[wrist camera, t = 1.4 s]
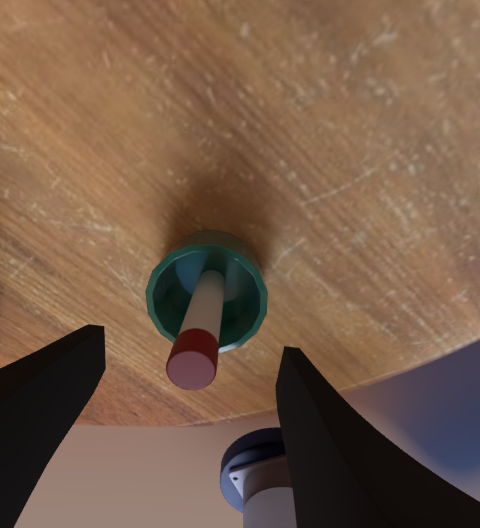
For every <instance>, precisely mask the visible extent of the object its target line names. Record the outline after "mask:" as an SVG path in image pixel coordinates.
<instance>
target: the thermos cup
mask: <svg viewBox="0 0 480 528" xmlns="http://www.w3.org/2000/svg"><path fill="white" fill-rule="evenodd" d="M208 270H215V271H218V272H219V273H221V274H222V275H223V277H224V279H225V291H224V299H223V308H222V316H221V325H220V334H219V342H218V345H219V352H218V353H223V352H225V351H228V350H231V349H234V348H237V347H240V346H242V345H243V344H244V343H245V342H246V341H247V340H249V339H250V338H251V337H252V336H253V335H255V334H256V333H257V332H258V330H259V328H260V326H261V324H262V322H263V320H264V318H265V316H266V313H267V295H268V292H267V288H266V283H265V279H264V275H263V271H262V269H261V266H260V263H259V261H258V258H257V256H256V255H255V253H254V252H253V250H252V249H251V248H250V247H249V246H248V245H247V244H246V243H245V242H243V241H242V240H240V239H239V238H237V237H235V236H233V235H231V234H228V233H225V232H220V231H201V232H197V233H194V234H191V235H189V236H187V237H185V238H183V239H182V240H180V241H179V242H178V243H177V244H176V245H174V247H173V248H172V249H171V250H170V251H169V252H168V253H167V254H166V255H165V256H164V258H163V259H162V260H161V261H160V262H159V264H158V265H157V266H156V267H155V268H154V270H153V271H152V273H151V276H150V279H149V282H148V285H147V288H146V301H147V309H148V314H149V316H150V318H151V319H152V321H153V323H154V325H155V326H156V328H157V330H158V331H159V332H160V333H161V334H162V335H163V336H164V337H166V338H167V339H168V340H169V341H171V342H172V343H173V344H174V342H175V340H176V338H177V336H178V334H179V332H180V329H181V326H182V323H183V321H184V318H185V315H186V312H187V310H188V307H189V304H190V301H191V298H192V296H193V293H194V290H195V287H196V285H197V282H198V279H199V277H200V275H201V274H202V273H203V272H205V271H208Z"/></svg>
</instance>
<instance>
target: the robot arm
mask: <svg viewBox="0 0 480 528" xmlns="http://www.w3.org/2000/svg"><path fill="white" fill-rule="evenodd" d="M105 369H106V365H105V334H104V326H98V325H90V324H88V325H86V326H84V327H82V328H80V329H78V330H76V331H74V332H72V333H70V334H68V335H66V336H64V337H63V338H61V339H59V340H57V341H55V342H53V343H51V344H49V345H47V346H45V347H43V348H42V349H40V350H38V351H36V352H34V353H32V354H30V355H27V356H25V357H23V358H21V359H19V360H17V361H15V362H13V363H11V364H9V365H7V366H5V367H2V368H0V528H14V526H15V523H16V522H17V520H18V518H19V516H20V514H21V512H22V510H23V508H24V506H25V504H26V502H27V501H28V499H29V497H30V495H31V493H32V491H33V490H34V488H35V486H36V484H37V482H38V480H39V479H40V477H41V475H42V473H43V471H44V469H45V468H46V465H47V464H48V462H49V461H50V459H51V458H52V456H53V454H54V453H55V451H56V449H57V448H58V446H59V445H60V443H61V442H62V440H63V439H64V437H65V436H66V434H67V433H68V431H69V430H70V428H71V427H72V425H73V424H74V422H75V421H76V419H77V418H78V416H79V415H80V413H81V412H82V410H83V409H84V407H85V406H86V404H87V403H88V401H89V399H90V398H91V396H92V395H93V393H94V391H95V389H96V387H97V385H98V383H99V381H100V379H101V377H102V375H103V373H104V371H105ZM276 400H277V411H278V416H279V421H280V426H281V432H282V436H283V441H284V446H285V451H286V453H285V454H281V455H278V456H274V457H271V458H268V459H264V460H261V461H257V462H254V463H251V464H247V465H244V466H240V467H237V468H233V469H231V470H230V471H229V477H230V479H231V480H232V482H233V484H234V485H235V487H236V488H237V490H238V492H239V493H240V495H241V497H242V498H243V528H480V502H479V501H477V500H476V499H474V498H472V497H471V496H469V495H467V494H466V493H464V492H463V491H461V490H459V489H458V488H456V487H454V486H453V485H451V484H450V483H448V482H447V481H445V480H444V479H442V478H441V477H439V476H438V475H436V474H435V473H433V472H432V471H430V470H429V469H428V468H426V467H425V466H423V465H422V464H420V463H419V462H418V461H416V460H415V459H414V458H412V457H411V456H409V455H408V454H407V453H405V452H404V451H403V450H401V449H400V448H399V447H398V446H396V445H395V444H394V443H392V442H391V441H390V440H389V439H387V438H386V437H385V436H384V435H382V434H381V433H380V432H379V431H378V430H376V429H375V428H374V427H373V426H372V425H371V424H370V423H369V422H367V421H366V420H365V419H364V418H363V417H362V416H361V415H359V414H358V413H357V412H356V411H355V410H354V409H353V408H352V407H351V406H350V405H349V404H348V403H347V402H346V401H345V400H344V399H343V398H342V397H341V396H340V395H339V394H338V392H337V391H336V390H335V389H334V388H333V387H332V386H331V385H330V384H329V383H328V382H327V380H326V379H325V378H324V377H323V376H322V375H321V373H320V372H319V371H318V370H317V369H316V368H315V366H314V365H313V364H312V363H311V361H310V360H309V359H308V358H307V357H306V355H305V354H304V353H303V352H302V351H301V349H300V348H295V347H286V346H284V351H283V355H282V360H281V364H280V369H279V373H278V378H277V382H276Z"/></svg>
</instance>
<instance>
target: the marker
mask: <svg viewBox="0 0 480 528" xmlns="http://www.w3.org/2000/svg"><path fill="white" fill-rule="evenodd" d="M224 291H225V279H224V277H223V275H222V274H221V273H219V272H218V271H215V270H208V271H205V272H203V273H202V274H201V275H200V277H199V279H198V282H197V285H196V287H195V290H194V293H193V296H192V298H191V301H190V304H189V307H188V310H187V312H186V315H185V318H184V321H183V323H182V326H181V329H180V332H179V334H178V336H177V338H176V340H175V342H174V345H173V347H172V350H171V353H170V355H169V358H168V361H167V364H166V372H167V375H168V377H169V379H170V380H171V382H172V383H173V384H175V385H176V386H178V387H180V388H182V389H186V390H199V389H202V388H205V387H206V386H208V385H209V384H210V383H211V382H212V381H213V380H214V378H215V376H216V371H217V361H218V352H219V345H218V342H219V334H220V325H221V316H222V308H223V299H224Z"/></svg>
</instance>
